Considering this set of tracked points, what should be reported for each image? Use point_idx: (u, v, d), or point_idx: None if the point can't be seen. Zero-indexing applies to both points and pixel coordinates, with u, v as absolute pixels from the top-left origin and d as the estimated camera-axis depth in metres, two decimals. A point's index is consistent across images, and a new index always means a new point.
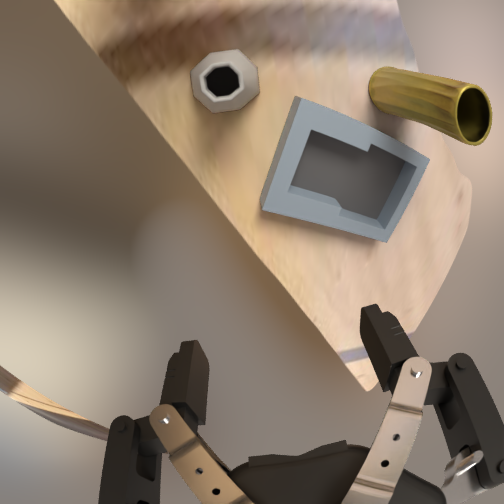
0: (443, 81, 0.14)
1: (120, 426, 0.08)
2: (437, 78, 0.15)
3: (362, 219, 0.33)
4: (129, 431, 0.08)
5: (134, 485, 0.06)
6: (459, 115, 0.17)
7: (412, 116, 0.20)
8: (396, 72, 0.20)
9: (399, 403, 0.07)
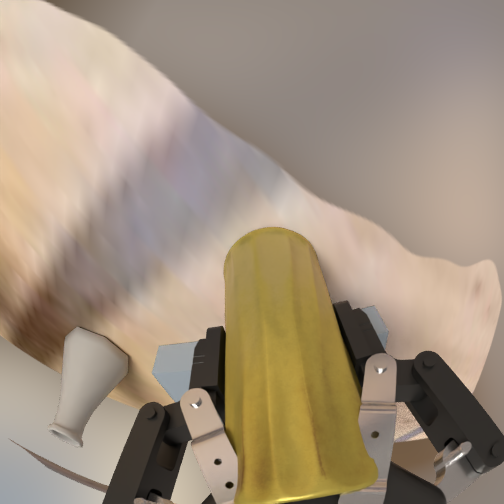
0: (233, 426, 0.07)
1: (150, 413, 0.08)
2: (235, 396, 0.08)
3: None
4: (159, 418, 0.08)
5: (150, 474, 0.07)
6: None
7: None
8: (227, 296, 0.14)
9: (370, 401, 0.07)
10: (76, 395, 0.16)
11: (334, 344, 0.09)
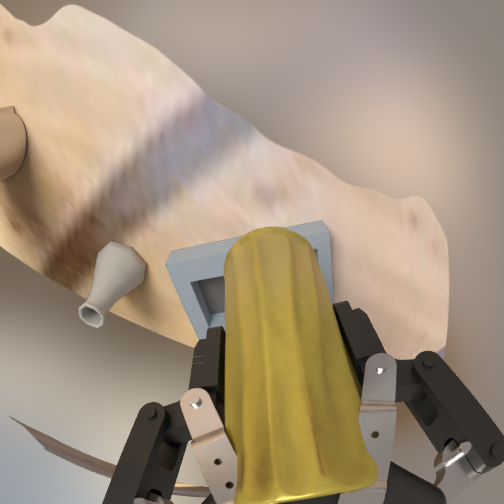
0: (233, 425, 0.07)
1: (150, 413, 0.08)
2: (235, 395, 0.08)
3: None
4: (159, 418, 0.08)
5: (151, 474, 0.07)
6: None
7: None
8: (227, 295, 0.14)
9: (370, 401, 0.07)
10: (105, 284, 0.27)
11: (334, 343, 0.09)
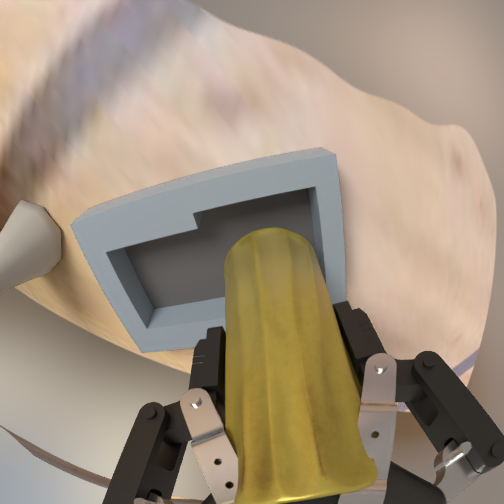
0: (234, 426, 0.07)
1: (150, 413, 0.08)
2: (236, 396, 0.08)
3: None
4: (159, 418, 0.08)
5: (150, 474, 0.07)
6: None
7: None
8: (227, 296, 0.14)
9: (370, 401, 0.07)
10: None
11: (334, 344, 0.09)
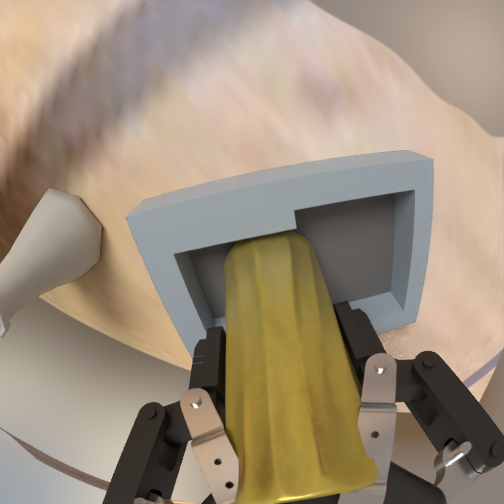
0: (234, 426, 0.07)
1: (150, 413, 0.08)
2: (236, 396, 0.08)
3: None
4: (159, 418, 0.08)
5: (150, 474, 0.07)
6: None
7: None
8: (227, 296, 0.14)
9: (370, 401, 0.07)
10: (20, 255, 0.11)
11: (334, 344, 0.09)
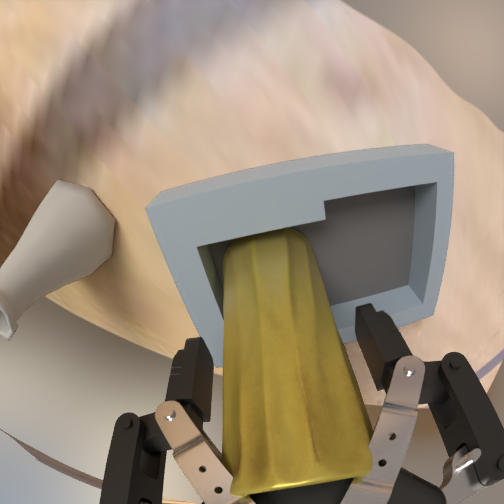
0: (231, 415, 0.08)
1: (125, 423, 0.08)
2: (233, 386, 0.09)
3: (380, 307, 0.19)
4: (134, 428, 0.08)
5: (137, 483, 0.06)
6: None
7: None
8: (225, 290, 0.14)
9: (394, 402, 0.07)
10: (28, 250, 0.11)
11: (329, 336, 0.10)
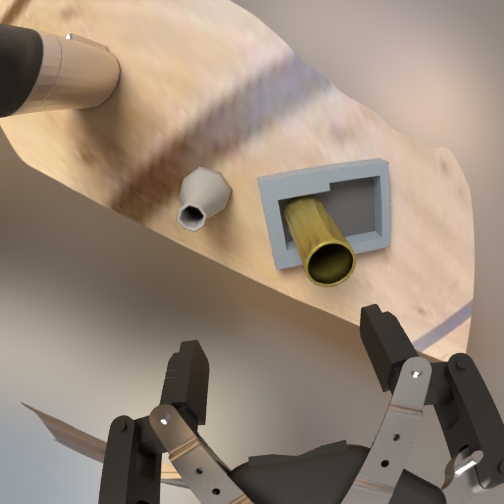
0: (304, 241, 0.28)
1: (120, 426, 0.08)
2: (303, 235, 0.29)
3: (359, 239, 0.38)
4: (129, 431, 0.08)
5: (134, 485, 0.06)
6: None
7: None
8: (290, 217, 0.34)
9: (399, 403, 0.07)
10: (203, 194, 0.31)
11: (332, 223, 0.30)
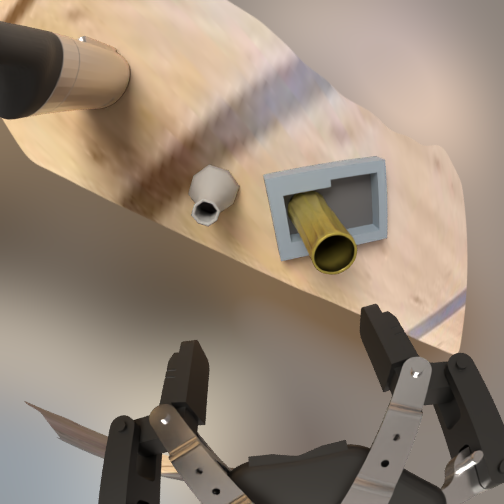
0: (310, 233, 0.30)
1: (120, 426, 0.08)
2: (308, 227, 0.31)
3: (358, 231, 0.41)
4: (129, 431, 0.08)
5: (134, 485, 0.06)
6: None
7: None
8: (295, 211, 0.37)
9: (399, 403, 0.07)
10: (214, 191, 0.33)
11: (335, 216, 0.32)
